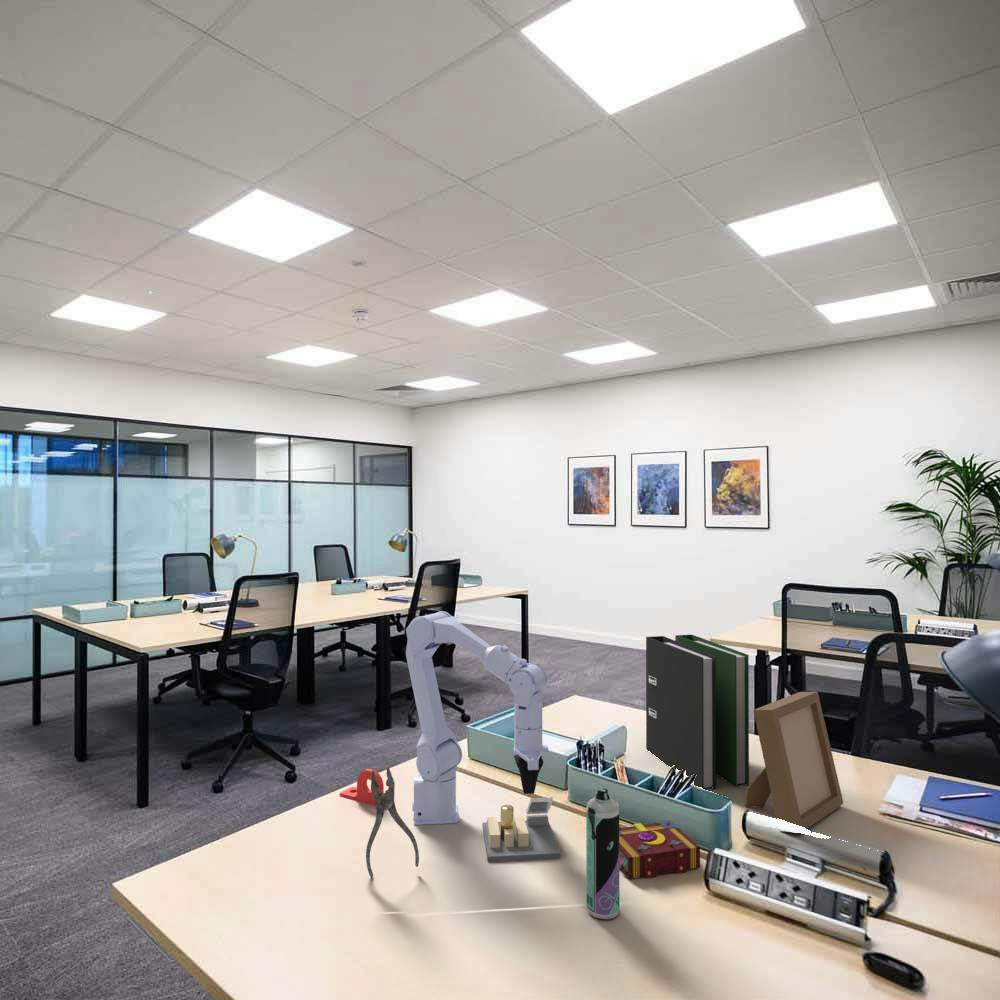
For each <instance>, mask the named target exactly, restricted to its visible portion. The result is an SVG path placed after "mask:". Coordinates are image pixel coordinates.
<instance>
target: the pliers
mask: <svg viewBox="0 0 1000 1000" xmlns="http://www.w3.org/2000/svg"><path fill="white" fill-rule="evenodd" d="M371 769H372V778H371V780H370V790H371V791H372V794H373V798H374V801H375V804H376V806H375V808H376V809H375V811H376V815H375V821H374V824H373V827H372V829H371V833H370V835H369V839H368V840H367V844H366V850H365V863H366V864H365V865H366V869H367V872H368V875H369V877H370V878H371V879H372V878H374V873H373V869H372V866H371V850H372V846H373V843H374V842H375V841H374V840H375V838H376V836H377V834H378V832H379V829H380V828H381V825H382V821H383V818H384V813H385V811H388V813H389V814H390V817H392V819H393V820H394V822H395V823H396V824H397V825H398V826H399V827H400V829H402V830H403V832H404V833H405V834H406V835H407V837H409V839H410V841H411V843H412V845H413V850H414V856H415V858H414V860H415V862H414V863H415V865H414V866H415V867H416V868H417V867H419V863H420V856H419V855H420V853H419V852H420V851H419V847H418V843H417V840H416V838H415V836H414V834H413V832H412V831H411V829H410V828H409V827H408V826H407V824H406V823H405V821H404V820H403V819H402V817H401V816H400V814H399V813H398V811H397V807H396V803H395V786H396V785H395V781H394V780H395V779H394V778H393V775H392V772H391V769H390V766H389V765H387V766H386V778H387V779H386V781H385V786H387V787H388V789H386V790H385V791H384V793H382V792H379V791H378V790H377V789H378V788H379V783H377V781H376V775H375V772H374V770H375V769H374V768H371Z"/></svg>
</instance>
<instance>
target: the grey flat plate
mask: <svg viewBox="0 0 1000 1000" xmlns="http://www.w3.org/2000/svg"><path fill="white" fill-rule="evenodd" d="M553 802H554V800H553V797H550V796H549V797H532V798H530V799H529V803H528V805H527V808H526V815H547V814H548V813H549V811H550V810H551V806H552V804H553Z"/></svg>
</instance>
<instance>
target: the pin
mask: <svg viewBox="0 0 1000 1000" xmlns="http://www.w3.org/2000/svg"><path fill="white" fill-rule="evenodd" d="M514 809H515V808H514V806H513V805H511V804H504V805H502V806H500V822H501V839H502V840H504V830H506V829H512V830H513V838H514V816H515V814H514Z"/></svg>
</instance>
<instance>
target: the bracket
mask: <svg viewBox="0 0 1000 1000" xmlns="http://www.w3.org/2000/svg"><path fill="white" fill-rule="evenodd" d="M372 769H373V768H367V769H365V770H363V771H361V772H360V773H359V774H358V776H357V779H356V786H350V787H348V788H346V789H345V790H343V791H341V792H339V796H340V797H343V798H346V799H347V798H348V799H349V800H354V801H358V802H360V803H365V804H368V805H372V806H375V807H376V804H375V801H374V798H373V794H372V791H371V788H369V785H368V780H369V781H371V778H372ZM374 772H375V775H376V781H377V783H379V788H378V789H377V790H378V791H379V792H382V793H385V791H384V790H385V789H384V781H383V777H382V776H381V774H380V773H379V772H378V771H376V770H375V769H374Z"/></svg>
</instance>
